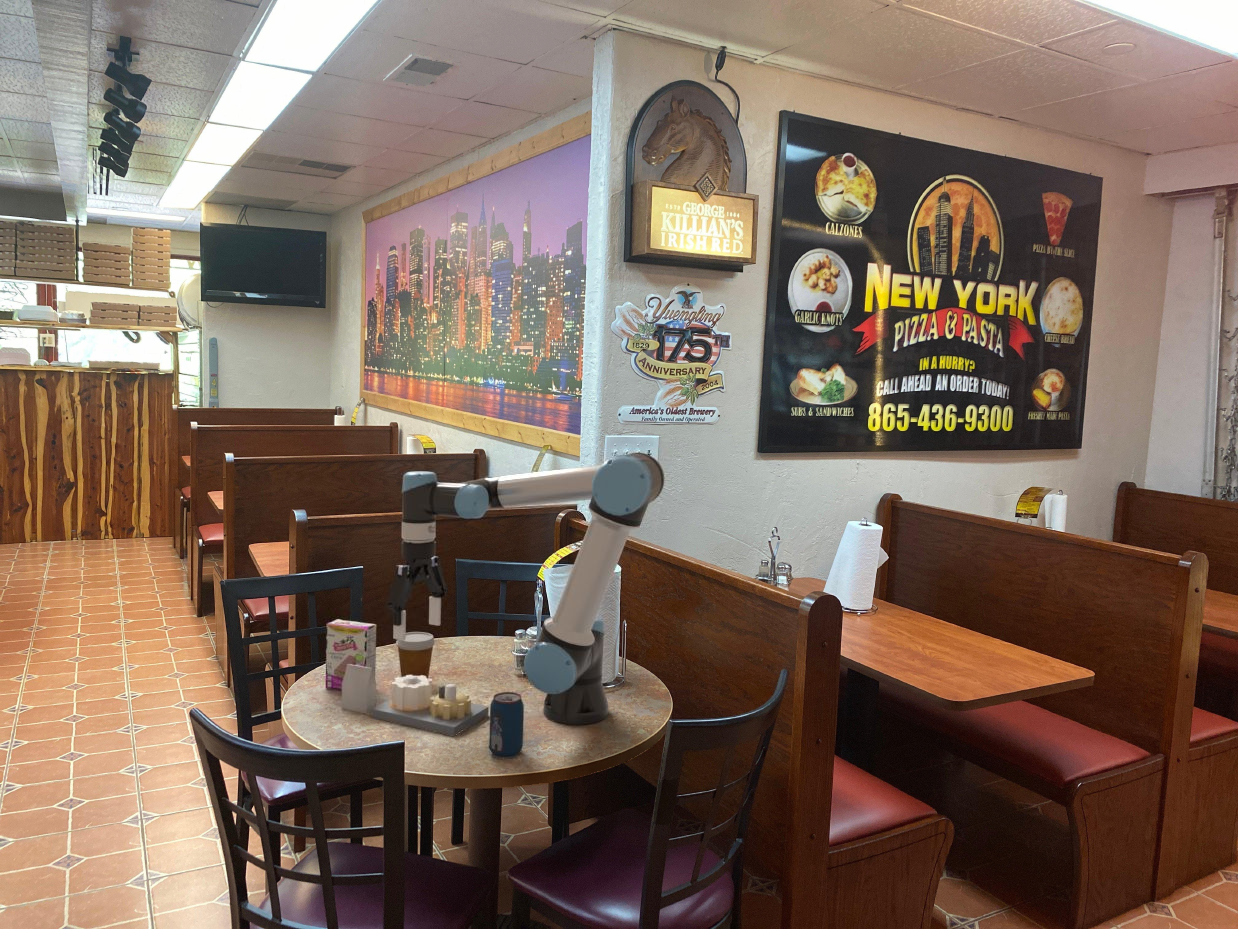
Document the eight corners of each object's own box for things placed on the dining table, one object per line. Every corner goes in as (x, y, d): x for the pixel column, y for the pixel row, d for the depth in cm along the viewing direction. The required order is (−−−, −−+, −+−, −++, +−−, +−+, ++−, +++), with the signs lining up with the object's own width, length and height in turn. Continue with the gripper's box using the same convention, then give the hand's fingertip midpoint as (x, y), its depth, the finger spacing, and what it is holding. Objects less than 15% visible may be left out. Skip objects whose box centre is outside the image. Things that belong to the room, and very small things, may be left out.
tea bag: (366, 713, 201) (367, 670, 200) (341, 708, 203) (342, 666, 202) (376, 708, 204) (376, 666, 203) (351, 703, 206) (352, 661, 206)
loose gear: (407, 693, 208) (407, 672, 208) (439, 699, 205) (439, 678, 205) (383, 705, 200) (383, 683, 200) (415, 712, 197) (416, 690, 196)
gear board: (488, 715, 203) (489, 681, 202) (454, 736, 190) (454, 700, 189) (409, 698, 211) (410, 665, 211) (371, 717, 199) (372, 682, 198)
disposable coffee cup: (424, 691, 216) (425, 644, 215) (388, 687, 218) (389, 640, 217) (440, 679, 225) (441, 633, 224) (405, 675, 227) (406, 629, 226)
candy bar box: (324, 689, 215) (325, 623, 213) (335, 683, 219) (336, 618, 218) (365, 695, 212) (366, 628, 210) (376, 688, 217) (377, 623, 215)
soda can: (523, 746, 186) (525, 691, 185) (521, 760, 179) (523, 703, 178) (490, 745, 186) (492, 690, 185) (486, 759, 179) (488, 702, 178)
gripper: (398, 550, 187) (397, 648, 189) (463, 533, 210) (461, 621, 212) (369, 546, 189) (369, 643, 191) (436, 530, 212) (435, 616, 214)
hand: (417, 631), depth 201 cm, fingers open, 13 cm apart
